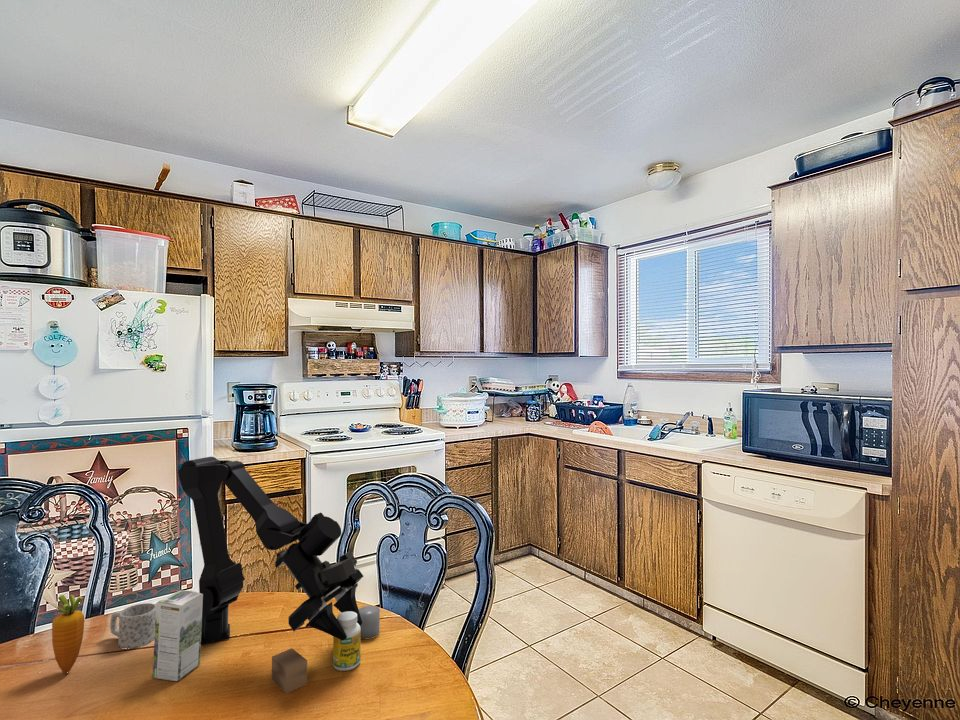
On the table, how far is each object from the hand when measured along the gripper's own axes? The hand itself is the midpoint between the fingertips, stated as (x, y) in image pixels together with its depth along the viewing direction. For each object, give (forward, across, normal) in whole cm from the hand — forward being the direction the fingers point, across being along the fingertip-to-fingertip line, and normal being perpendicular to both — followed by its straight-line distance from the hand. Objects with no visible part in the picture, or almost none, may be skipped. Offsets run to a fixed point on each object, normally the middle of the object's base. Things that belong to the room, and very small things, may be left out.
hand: (353, 631), depth 99 cm
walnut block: (-1, -8, +11) cm, 14 cm away
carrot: (-31, -20, +41) cm, 55 cm away
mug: (-31, -7, +41) cm, 52 cm away
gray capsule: (+2, +12, +7) cm, 14 cm away
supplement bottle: (+4, 0, +6) cm, 7 cm away
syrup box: (-17, -13, +27) cm, 34 cm away
